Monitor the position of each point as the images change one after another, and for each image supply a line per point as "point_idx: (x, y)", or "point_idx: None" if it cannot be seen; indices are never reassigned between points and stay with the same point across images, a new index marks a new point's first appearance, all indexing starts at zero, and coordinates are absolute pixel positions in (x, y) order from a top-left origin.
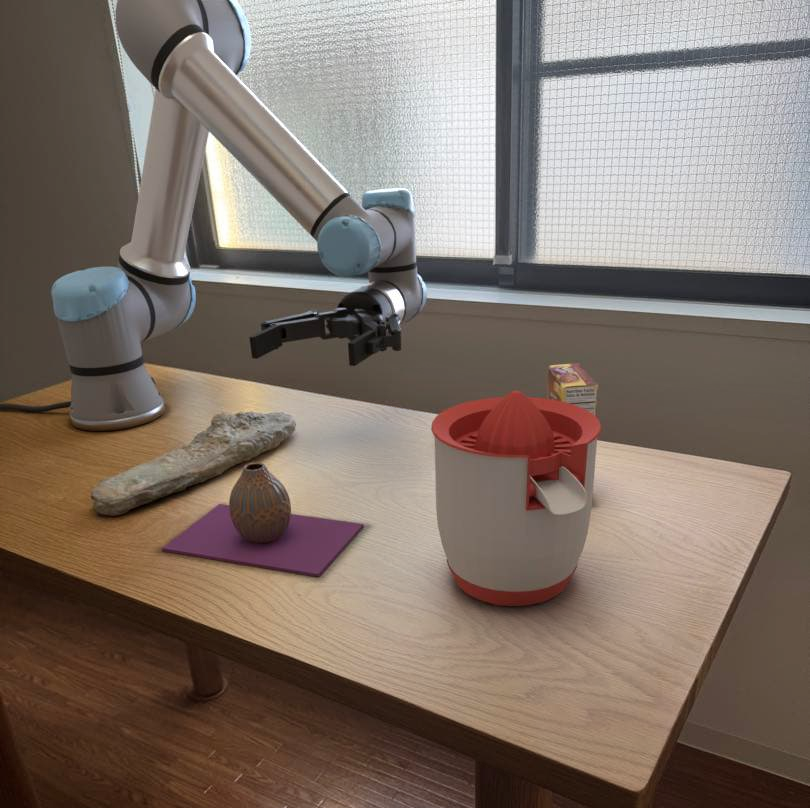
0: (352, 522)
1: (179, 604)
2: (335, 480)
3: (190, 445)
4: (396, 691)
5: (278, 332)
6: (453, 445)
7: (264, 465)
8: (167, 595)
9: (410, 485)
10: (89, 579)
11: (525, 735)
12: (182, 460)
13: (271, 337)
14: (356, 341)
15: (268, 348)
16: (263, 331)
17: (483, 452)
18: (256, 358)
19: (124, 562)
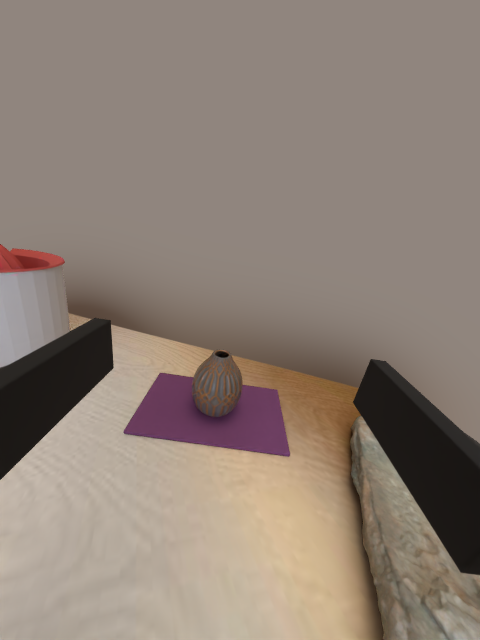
0: (135, 432)
1: None
2: (170, 584)
3: None
4: (119, 327)
5: (474, 500)
6: (58, 256)
7: (213, 354)
8: (240, 362)
9: (6, 592)
10: (290, 370)
11: (74, 317)
12: (409, 511)
13: (420, 444)
14: (82, 326)
15: (389, 442)
16: (422, 401)
17: (42, 252)
18: (355, 402)
19: (288, 382)
